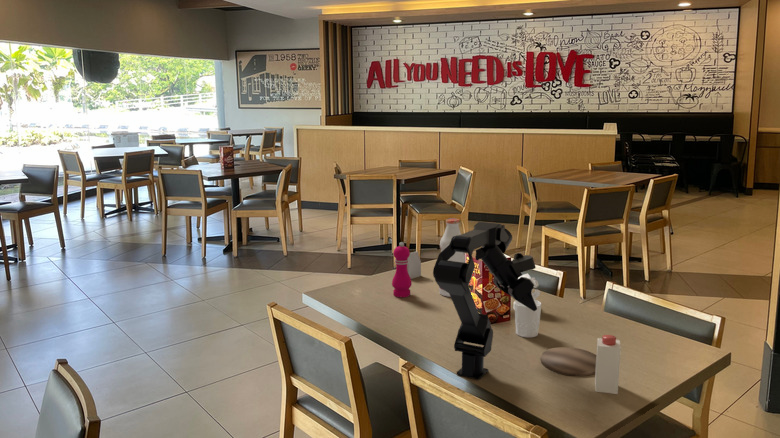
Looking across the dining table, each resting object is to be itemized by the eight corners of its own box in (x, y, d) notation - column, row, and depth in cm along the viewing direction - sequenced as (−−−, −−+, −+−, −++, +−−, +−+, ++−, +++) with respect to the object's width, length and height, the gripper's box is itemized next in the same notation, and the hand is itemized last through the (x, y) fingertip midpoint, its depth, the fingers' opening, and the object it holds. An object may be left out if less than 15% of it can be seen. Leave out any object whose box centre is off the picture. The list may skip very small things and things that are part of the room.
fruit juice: (457, 288, 237) (457, 216, 231) (469, 295, 228) (470, 220, 223) (434, 291, 233) (435, 218, 228) (446, 298, 225) (447, 222, 219)
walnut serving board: (592, 381, 160) (592, 376, 159) (532, 366, 168) (532, 362, 168) (608, 359, 173) (608, 354, 172) (552, 346, 181) (552, 343, 181)
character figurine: (540, 313, 209) (542, 279, 207) (512, 313, 209) (513, 279, 207) (535, 304, 218) (536, 271, 215) (508, 304, 218) (509, 271, 216)
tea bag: (420, 275, 254) (420, 252, 252) (409, 279, 249) (409, 255, 247) (414, 274, 256) (414, 250, 254) (402, 277, 252) (402, 253, 250)
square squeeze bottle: (617, 394, 153) (621, 342, 150) (595, 391, 154) (598, 340, 151) (616, 384, 157) (619, 334, 155) (594, 382, 159) (597, 332, 156)
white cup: (521, 327, 197) (522, 296, 195) (544, 332, 192) (545, 301, 190) (509, 334, 191) (510, 303, 189) (532, 340, 186) (533, 308, 184)
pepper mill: (389, 296, 228) (389, 243, 224) (395, 291, 234) (394, 239, 230) (408, 298, 226) (408, 244, 222) (413, 292, 232) (413, 240, 228)
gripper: (531, 249, 161) (565, 295, 163) (509, 240, 180) (540, 282, 182) (498, 275, 161) (532, 321, 163) (479, 264, 179) (511, 305, 181)
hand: (529, 306), depth 172 cm, fingers open, 9 cm apart
